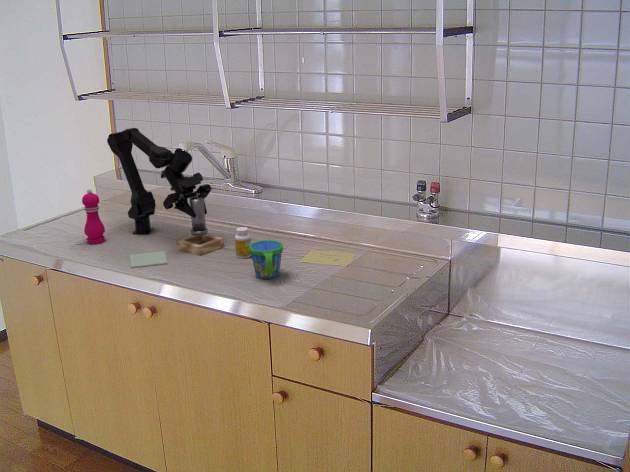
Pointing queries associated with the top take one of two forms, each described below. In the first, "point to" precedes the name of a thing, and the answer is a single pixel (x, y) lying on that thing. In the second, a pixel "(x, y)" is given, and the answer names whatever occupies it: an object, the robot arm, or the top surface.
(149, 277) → the top surface
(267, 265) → the snack cup
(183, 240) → the collar block
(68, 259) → the top surface
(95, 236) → the pepper mill
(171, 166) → the robot arm
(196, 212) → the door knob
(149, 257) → the rubber mat
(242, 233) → the supplement bottle
